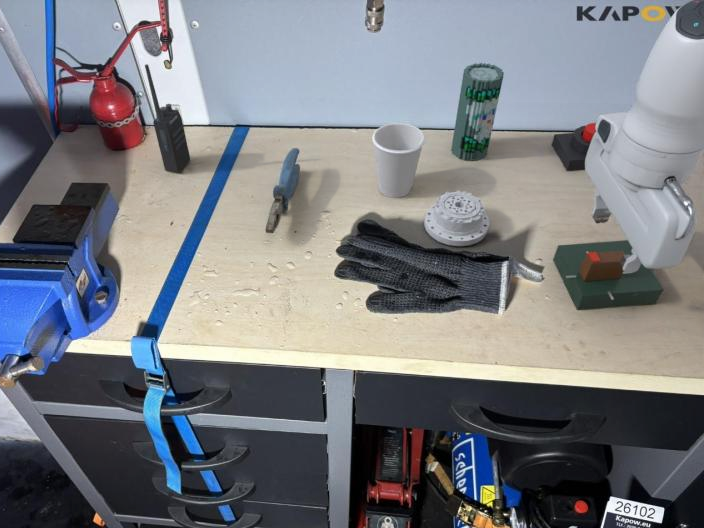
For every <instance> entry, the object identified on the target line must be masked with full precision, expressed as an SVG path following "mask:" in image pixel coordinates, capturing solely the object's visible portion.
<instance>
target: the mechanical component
mask: <svg viewBox="0 0 704 528" xmlns="http://www.w3.org/2000/svg"><path fill="white" fill-rule="evenodd" d="M423 223H424V225H423V226H424V228H425V232H427V233H428V235H429V236H430V237H431V238H433V239H434V240H436V241H437V242H438V243H441V244H444V245H447V246H452V247H465V246H472V245H474V244H477V243H479V242H481V241H482V240H483V239H484V238H485V237H487V234H488V232H489V229H490V218H489V215H488V213H487V212H486V211H485V205H484V203H483V202H482V199H481V197H480V198H479V197H476V196H474V195H473V194H472V192H467V191H465V190H463V191H461V190H458V189H457V190H456V191H453V192H450V191H446V192H445V193H444V194H442V195H440V196H438V197H437V198H436V200H435V201H434V203H433V204H432V205H430V207H429V208H428V209H427V210H426V212H425V216H424V221H423Z"/></svg>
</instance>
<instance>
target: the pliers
mask: <svg viewBox="0 0 704 528" xmlns="http://www.w3.org/2000/svg"><path fill="white" fill-rule="evenodd" d="M299 154H300V149H299V148H298V147H293V148H291V149H290V150H289V151H288V153H287V154H286V156H285V158H284V161H283V163H282V167H281V170H280V173H279V174H280V175H279V179H278V184H276V185H274V187H273V190H272V196H273V199H274V200H273V202H272V204H271V207H270V210H269V213H268V217H267V222H266V225H265V233H266V234H274V233H275V231H276V229H278V226H279V224H280V222H281V218H282V214H286V213H287V212H288V210H289V200H290V198H291V197H292V196H293V194H294V191H295V189H296V187H297V185H298V181H299V178H300V171H301V166H300V164H299V163H297V159H298V156H299Z"/></svg>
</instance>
